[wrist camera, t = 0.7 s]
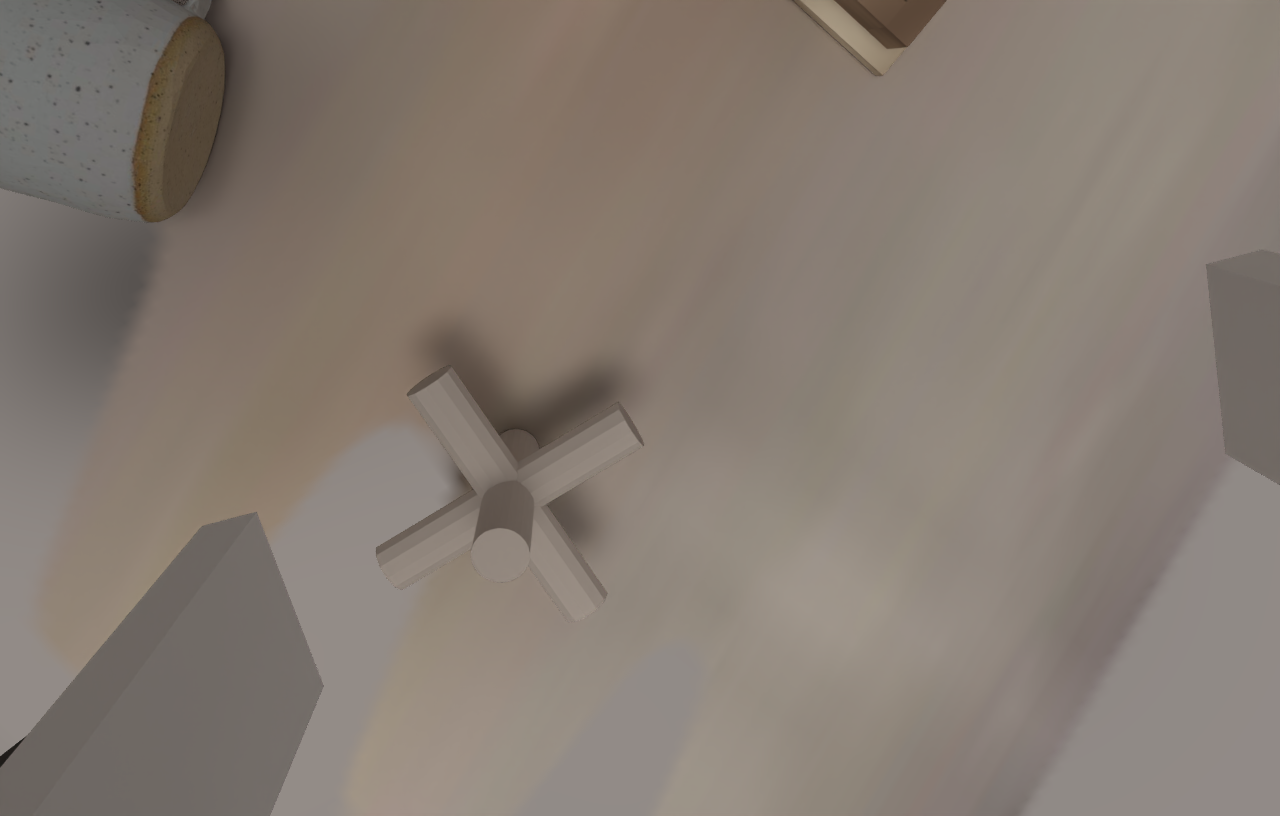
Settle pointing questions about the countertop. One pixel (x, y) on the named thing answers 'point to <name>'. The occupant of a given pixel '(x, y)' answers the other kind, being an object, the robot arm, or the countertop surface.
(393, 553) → the pipe connector
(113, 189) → the ceramic mug
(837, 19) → the board
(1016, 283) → the countertop surface
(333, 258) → the countertop surface
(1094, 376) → the countertop surface
